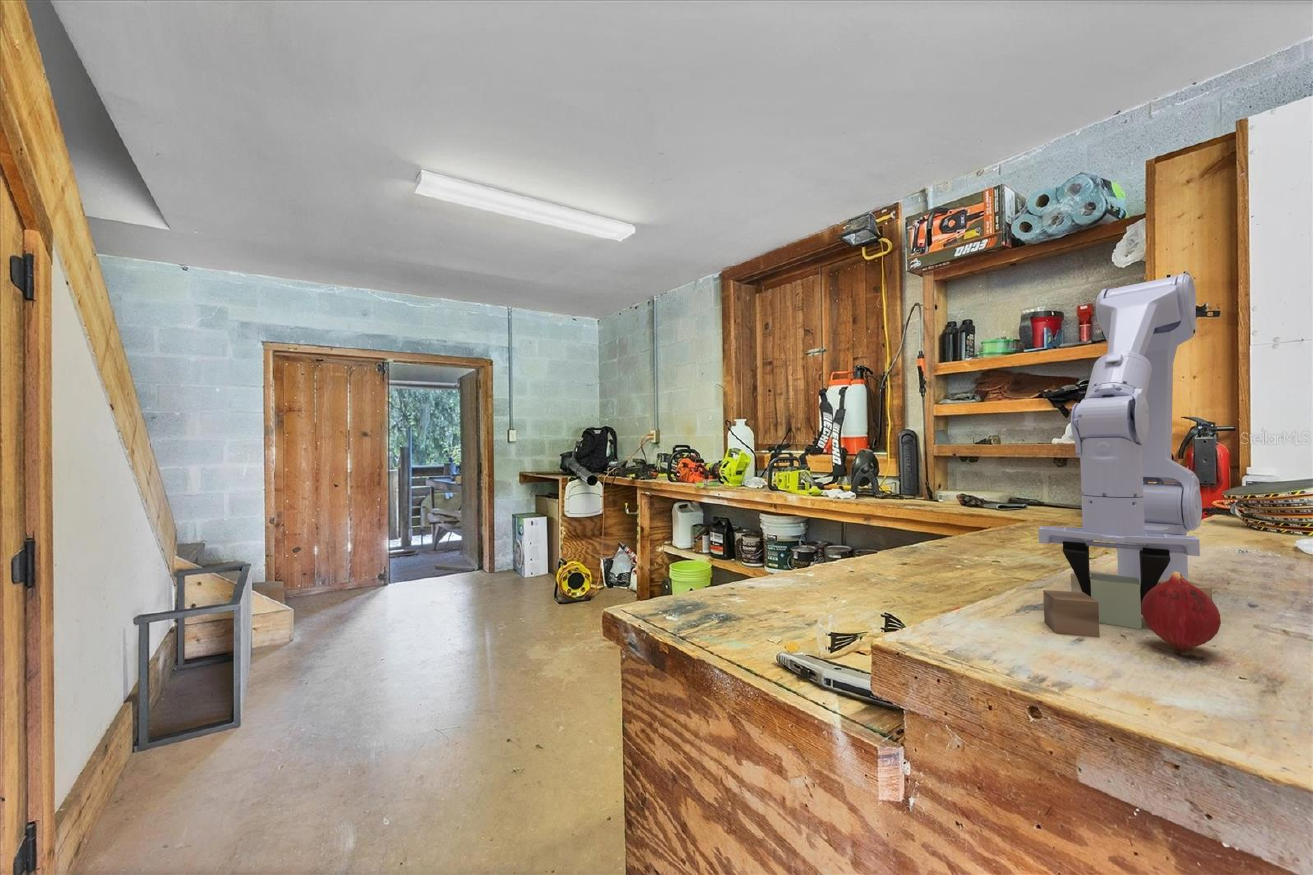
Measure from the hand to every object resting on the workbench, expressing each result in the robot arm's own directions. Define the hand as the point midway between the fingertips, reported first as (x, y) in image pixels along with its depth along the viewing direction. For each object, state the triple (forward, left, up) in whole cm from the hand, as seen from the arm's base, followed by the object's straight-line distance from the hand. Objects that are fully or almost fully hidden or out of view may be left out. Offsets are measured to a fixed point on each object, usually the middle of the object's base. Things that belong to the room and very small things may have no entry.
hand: (1115, 608), depth 64 cm
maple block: (-7, -2, -2) cm, 7 cm away
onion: (+8, +5, -2) cm, 10 cm away
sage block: (0, 0, -1) cm, 1 cm away
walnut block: (+7, -4, -2) cm, 8 cm away
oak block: (-7, +6, -2) cm, 9 cm away
